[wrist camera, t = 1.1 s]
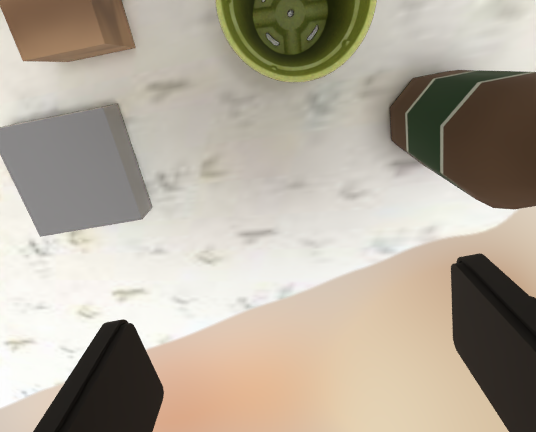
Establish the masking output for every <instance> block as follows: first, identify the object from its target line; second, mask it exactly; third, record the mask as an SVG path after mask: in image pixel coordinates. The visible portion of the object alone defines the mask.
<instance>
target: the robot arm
mask: <svg viewBox="0 0 536 432" xmlns="http://www.w3.org/2000/svg"><path fill="white" fill-rule="evenodd" d="M451 283H452V284H451V286H452V319H453V341H454V345H455V348H456V350H457V351H458V353H459V355H460V357H461V358H462V360H463V361H464V363H465V364H466V366H467V367H468V369H469V370H470V372H471V374H472V375H473V377H474V378H475V380H476V381H477V383H478V384H479V386H480V387H481V389H482V391H483V392H484V394H485V395H486V397H487V398H488V400H489V401H490V403H491V404H492V406H493V407H494V409H495V411H496V412H497V414H498V415H499V417H500V418H501V420H502V421H503V423H504V425H505V426H506V427H507V429H508V431H509V432H536V298H534V297H531V296H529V295H528V294H527V293H525V292H524V291H523V290H522V289H521V288H520V287H519V286H518V285H517V284H515V283H514V282H513V281H512V280H511V279H510V278H509V277H508V276H506V275H505V274H504V273H503V272H502V271H501V270H500V269H499V268H498V267H497V266H495V265H494V264H493V263H492V262H491V261H490V260H489V259H488V258H487V257H485V256H484V255H483V254H475V255H469V256H464V257H459V258H458V259H457V263H456V264H452V266H451ZM163 394H164V391H163V386H162V384H161V382H160V380H159V378H158V375H157V373H156V371H155V369H154V367H153V365H152V363H151V361H150V358H149V356H148V354H147V352H146V350H145V348H144V346H143V344H142V341H141V339H140V337H139V335H138V333H137V331H136V329H135V327H134V325H133V324H132V323H128V322H127V321H126V320H117V321H112V322H107V323H104V324H103V325H102V327H101V328H100V330H99V331H98V333H97V334H96V336H95V337H94V339H93V340H92V342H91V343H90V345H89V347H88V348H87V350H86V351H85V353H84V354H83V356H82V357H81V359H80V360H79V362H78V363H77V365H76V367H75V368H74V370H73V371H72V373H71V374H70V376H69V377H68V379H67V380H66V382H65V384H64V385H63V387H62V388H61V390H60V391H59V393H58V394H57V396H56V397H55V399H54V401H53V402H52V404H51V405H50V407H49V408H48V410H47V411H46V413H45V414H44V416H43V418H42V419H41V420H40V422H39V424H38V425H37V427H36V428H35V430H34V431H33V432H152V431H153V428H154V425H155V422H156V419H157V416H158V413H159V410H160V407H161V404H162V401H163Z"/></svg>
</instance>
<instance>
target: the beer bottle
mask: <svg viewBox="0 0 536 432" xmlns="http://www.w3.org/2000/svg"><path fill="white" fill-rule="evenodd" d="M390 117H391V136H392V141H393V142H394V143H395V144H396V145H398V146H399V147H400V148H402V149H403V150H404V151H406V152H407V153H408V154H410V155H411V156H412V157H414V158H415V159H416V160H418V161H419V162H420V163H422V164H423V165H424V166H426V167H427V168H429V169H431V170H432V171H434V172H435V173H437V174H438V175H440V176H441V177H443V178H444V179H446V180H447V181H449V182H450V183H452V184H453V185H455V186H457V187H458V188H460V189H461V190H463V191H464V192H466V193H467V194H469V195H470V196H472V197H473V198H475V199H476V200H478V201H481V202H483V203H485V204H487V205H489V206H491V207H493V208H503V209H519V208H525V207H532V206H536V72H511V71H471V70H456V71H447V72H442V73H437V74H432V75H427V76H422V77H417V78H413V79H412V80H411V82H410V83H409V84H408V85H407V87H406V88H405V89H404V91H403V92H402V93H401V94H400V96H399V97H398V98H397V99H396V101H395V102H394V103H393V104H392V106H391V107H390Z"/></svg>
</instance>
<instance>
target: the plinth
mask: <svg viewBox="0 0 536 432" xmlns="http://www.w3.org/2000/svg"><path fill="white" fill-rule="evenodd" d="M0 155H1V157H2V159H3V161H4V163H5V165H6V167H7V169H8V171H9V173H10V175H11V177H12V180H13V182H14V184H15V186H16V188H17V190H18V192H19V194H20V196H21V198H22V200H23V202H24V204H25V206H26V208H27V211H28V213H29V215H30V217H31V219H32V221H33V223H34V225H35V227H36V229H37V231H38V233H39V235H40V237H41V236H47V235H53V234H58V233H64V232H70V231H76V230H82V229H88V228H94V227H100V226H106V225H112V224H118V223H124V222H129V221H135V220H141V219H143V218H144V217H145V215H146V214H147V213H148V212H149V211H150V209H151V208H152V205H151V202H150V199H149V196H148V193H147V190H146V187H145V184H144V181H143V178H142V175H141V172H140V169H139V166H138V163H137V160H136V157H135V154H134V151H133V148H132V145H131V142H130V139H129V136H128V133H127V130H126V127H125V124H124V121H123V118H122V115H121V112H120V109H119V106H118V104H114V105H109V106H104V107H99V108H94V109H89V110H83V111H78V112H73V113H68V114H63V115H58V116H53V117H48V118H43V119H38V120H33V121H28V122H23V123H18V124H12V125H8V126H4V127H0Z"/></svg>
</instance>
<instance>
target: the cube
mask: <svg viewBox="0 0 536 432" xmlns="http://www.w3.org/2000/svg"><path fill="white" fill-rule="evenodd" d="M0 7H1V9H2V12H3V14H4V16H5V19H6V21H7V24H8V26H9V28H10V31H11V33H12V36H13V38H14V40H15V43H16V45H17V48H18V50H19V52H20V55H21V57H22V60H23V61H48V62H70V61H75V60H79V59H84V58H89V57H94V56H99V55H103V54H108V53H113V52H118V51H123V50H127V49H132V48H136V47H135V44H134V41H133V37H132V34H131V31H130V27H129V24H128V21H127V17H126V14H125V10H124V7H123V4H122V0H0Z"/></svg>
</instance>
